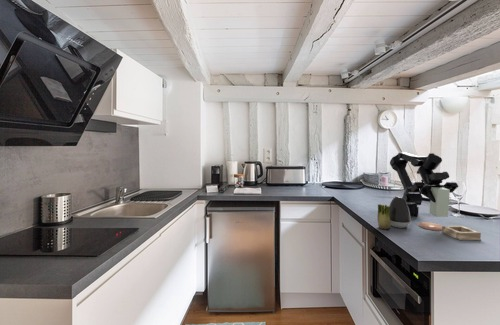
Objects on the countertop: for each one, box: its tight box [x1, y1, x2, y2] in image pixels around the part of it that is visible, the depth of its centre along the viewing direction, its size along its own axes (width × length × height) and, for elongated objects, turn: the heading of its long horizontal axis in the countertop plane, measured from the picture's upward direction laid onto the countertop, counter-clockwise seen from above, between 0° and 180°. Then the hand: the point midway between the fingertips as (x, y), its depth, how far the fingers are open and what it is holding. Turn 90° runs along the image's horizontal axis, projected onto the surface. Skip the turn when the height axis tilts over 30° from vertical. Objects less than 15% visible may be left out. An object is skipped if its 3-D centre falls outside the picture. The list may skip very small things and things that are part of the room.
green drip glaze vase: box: [377, 203, 391, 230], centre depth 114 cm, size 6×5×12 cm
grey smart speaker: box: [388, 195, 412, 229], centre depth 117 cm, size 10×10×15 cm
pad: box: [418, 221, 443, 232], centre depth 115 cm, size 10×10×1 cm
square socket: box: [441, 225, 482, 241], centre depth 104 cm, size 9×9×3 cm
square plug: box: [429, 187, 451, 218], centre depth 111 cm, size 5×5×13 cm
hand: (441, 202), depth 110 cm, fingers closed on square plug, 5 cm apart
